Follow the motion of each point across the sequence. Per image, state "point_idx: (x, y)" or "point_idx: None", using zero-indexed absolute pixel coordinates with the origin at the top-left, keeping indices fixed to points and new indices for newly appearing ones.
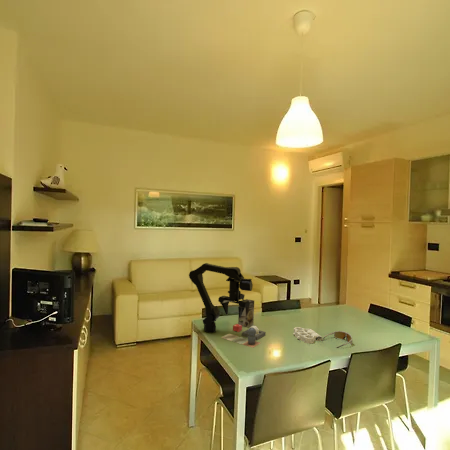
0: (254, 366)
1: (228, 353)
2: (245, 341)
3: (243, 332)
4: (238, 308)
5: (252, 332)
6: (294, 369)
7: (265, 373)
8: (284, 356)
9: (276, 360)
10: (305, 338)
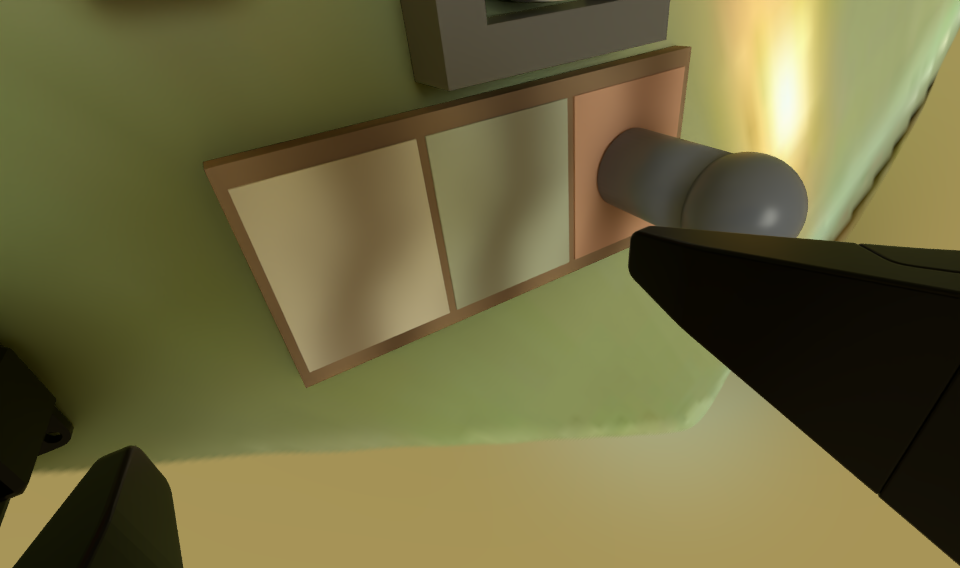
0: None
1: (559, 401)
2: (563, 184)
3: (464, 66)
4: (948, 551)
5: None
6: (862, 189)
7: None
8: (830, 96)
9: None
10: None
